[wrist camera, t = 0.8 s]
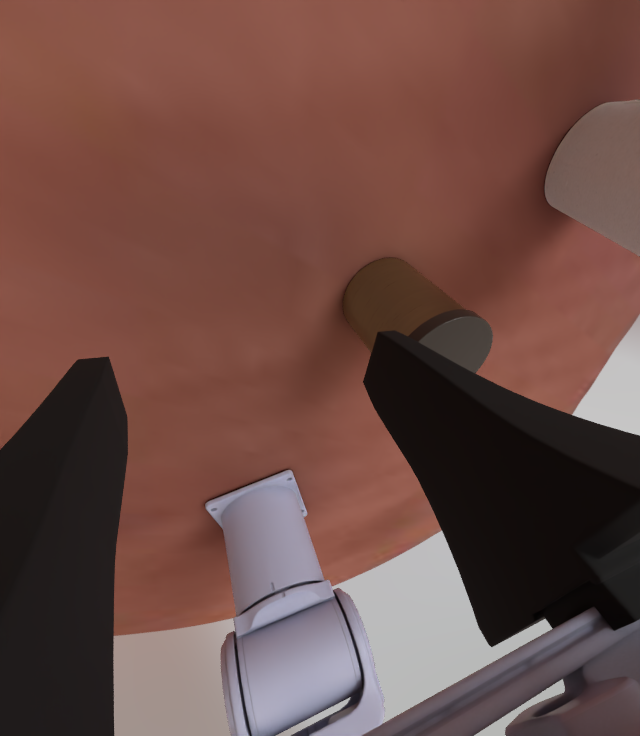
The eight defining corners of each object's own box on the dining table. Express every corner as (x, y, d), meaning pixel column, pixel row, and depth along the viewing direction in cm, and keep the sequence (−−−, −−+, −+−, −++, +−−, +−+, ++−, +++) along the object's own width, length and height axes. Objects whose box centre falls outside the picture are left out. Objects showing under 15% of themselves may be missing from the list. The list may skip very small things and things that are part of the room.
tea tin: (414, 317, 25) (480, 383, 20) (343, 341, 24) (394, 416, 19) (420, 244, 21) (505, 301, 16) (336, 269, 20) (397, 339, 15)
